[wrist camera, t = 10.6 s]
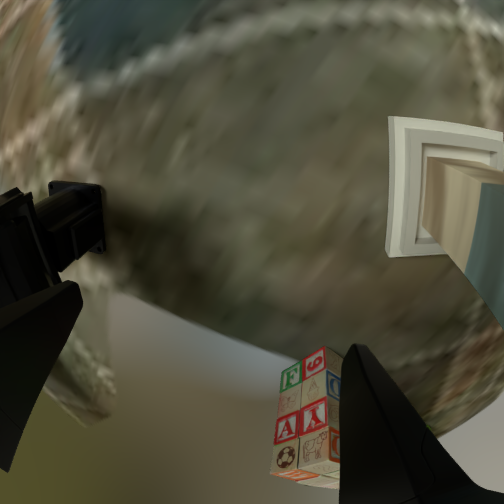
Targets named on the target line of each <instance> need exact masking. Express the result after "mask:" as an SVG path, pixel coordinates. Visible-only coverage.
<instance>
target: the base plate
mask: <svg viewBox="0 0 504 504" xmlns="http://www.w3.org/2000/svg"><path fill="white" fill-rule="evenodd" d="M388 125H389V202H388V219H387V232H386V243H385V251H386V253H387V254H388V256H389V257H405V256H421V255H438V254H447V253H446V252H445V251H444V250H443V248H442V247H441V246H440V245H439V244H438V243H437V242H436V240H435V239H434V238H433V237H432V236H431V235H430V234H429V233H428V232H427V231H426V230H425V228H424V227H423V226H422V217H423V208H424V197H425V185H426V166H427V156H430V157H442V158H453V159H462V160H470V161H478V162H482V163H484V164H487V165H489V166H491V167H493V168H496V169H498V170H500V171H502V172H503V169H504V142H503V133H502V132H498V131H494V130H490V129H485V128H480V127H475V126H470V125H464V124H458V123H452V122H445V121H437V120H429V119H420V118H409V117H396V116H388Z"/></svg>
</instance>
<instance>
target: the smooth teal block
mask: <svg viewBox="0 0 504 504" xmlns="http://www.w3.org/2000/svg"><path fill="white" fill-rule="evenodd" d="M422 226H423V227H424V228H425V230H426V231H427V232H428V233H429V234H430V235H431V236H432V237H433V238H434V239H435V240H436V242H437V243H438V244H439V245H440V246H441V247H442V248H443V250H444V251H445V252H446V253H447V254H448V255H449V257H450V258H451V259H452V260H453V261H454V263H455V264H456V265H457V266H458V267H459V269H460V270H461V271H462V272H463V274H464V275H465V276H466V277H467V279H468V280H469V281H470V283H471V284H472V285H473V287H474V288H475V289H476V291H477V292H478V293H479V295H480V296H481V297H482V299H483V300H484V302H485V303H486V304H487V306H488V307H489V309H490V310H491V312H492V313H493V315H494V316H495V318H496V319H497V321H498V322H499V324H500V325H501V327H502V328H503V330H504V172H502V171H500V170H498V169H496V168H493V167H491V166H489V165H487V164H484V163H482V162H478V161H470V160H462V159H453V158H442V157H430V156H427V166H426V185H425V197H424V208H423V217H422Z"/></svg>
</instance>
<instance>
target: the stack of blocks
mask: <svg viewBox="0 0 504 504" xmlns="http://www.w3.org/2000/svg"><path fill="white" fill-rule="evenodd" d="M342 362H343V359H342V358H341V357H340V356H339V355H337V354H336V353H335V352H333V351H332V350H330V349H329V348H328V347H326V346H324V347H322V348H321V349H319V350H317V351H316V352H314V353H313V354H311V355H309V356H308V357H306V358H304V359H303V360H302V361H300V362H297V363H296V364H294V365H292V366H291V367H289V368H287V369H285V370H284V371H282V375H281V383H280V398H279V407H278V416H277V417H278V419H277V421H276V427H275V435H274V436H275V438H274V451H273V457H272V464H271V470H270V474H271V475H275V476H279V477H282V478H286V479H290V480H295V482H296V483H300V484H305V485H310V486H319V487H325V488H333V489H334V488H336V489H339V479H340V440H339V398H340V382H341V366H342Z"/></svg>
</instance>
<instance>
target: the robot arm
mask: <svg viewBox="0 0 504 504" xmlns="http://www.w3.org/2000/svg"><path fill="white" fill-rule="evenodd" d="M48 189H49V197H47V198H45V199H44V200H42V201H40V202H38V203H36V204H35V205H34V203H33V200H32V199H33V196H32V192H28V193H26V194H24V193H23V192H21V191H20V190H19V189H18V188H17V187H16V188H13V189H11V190H9V191H7V192H5V193H4V194H2V195H0V468H1V469H2V470H4V471H5V472H7V473H8V472H9V470H10V467H11V464H12V461H13V457H14V455H15V452H16V449H17V446H18V444H19V441H20V438H21V436H22V433H23V430H24V428H25V426H26V423H27V421H28V418H29V416H30V414H31V411H32V409H33V407H34V405H35V403H36V400H37V398H38V396H39V394H40V392H41V390H42V388H43V386H44V384H45V382H46V380H47V378H48V376H49V374H50V372H51V370H52V368H53V366H54V364H55V362H56V360H57V358H58V356H59V355H60V353H61V351H62V349H63V347H64V346H65V344H66V342H67V340H68V337H69V335H70V333H71V331H72V329H73V326H74V324H75V322H76V320H77V318H78V316H79V314H80V312H81V310H82V307H83V299H82V295H81V292H80V288H79V285H78V284H77V283H76V282H73V281H70V280H67V281H64V282H62V280H61V278H60V276H59V274H58V272H63V271H64V270H65V269H66V268H67V267H68V266H69V265H70V264H71V263H73V262H74V261H75V260H79V259H80V258H81V257H82V256H83V255H84V254H85V253H87V252H88V251H90V252H94V253H98V254H103V253H104V252H105V250H106V246H105V238H104V228H103V217H102V206H101V190H100V187H99V186H98V185H96V184H87V183H77V182H65V181H51V182H49V184H48ZM94 189H95V191H96V193H95V192H94ZM100 248H101V249H100ZM426 426H427V425H426V424H425V422H424V421H423V419H422V418H421V417H420V415H419V414H418V413H417V411H416V410H415V409H414V407H413V406H412V405H411V403H410V402H409V401H408V399H407V398H406V397H405V395H404V394H403V393H402V391H401V390H400V389H399V387H398V386H397V385H396V383H395V382H394V381H393V379H392V378H391V377H390V376H389V374H388V373H387V372H386V370H385V369H384V368H383V366H382V365H381V364H380V363H379V361H378V360H377V359H376V357H375V356H374V355H373V354H372V352H371V351H370V350H369V348H368V347H367V346H366V345H364V344H352V345H351V347H350V349H349V350H348V352H347V354H346V356H345V358H344V359H343V362H342V366H341V382H340V398H339V440H340V479H339V504H504V493H500V492H496V491H491V490H487V489H484V488H482V487H480V486H478V485H477V484H476V483H474V482H473V481H472V480H471V479H470V478H469V476H468V475H467V474H466V473H465V472H464V471H463V470H462V469H461V467H460V466H459V465H458V464H457V463H456V462H455V460H454V459H453V458H452V457H451V456H450V455H449V453H448V452H447V451H446V450H445V449H444V448H443V446H442V445H441V444H440V442H439V441H438V440H437V438H436V437H435V436H434V434H433V433H432V432H431V430H430V429H429V427H426Z"/></svg>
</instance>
